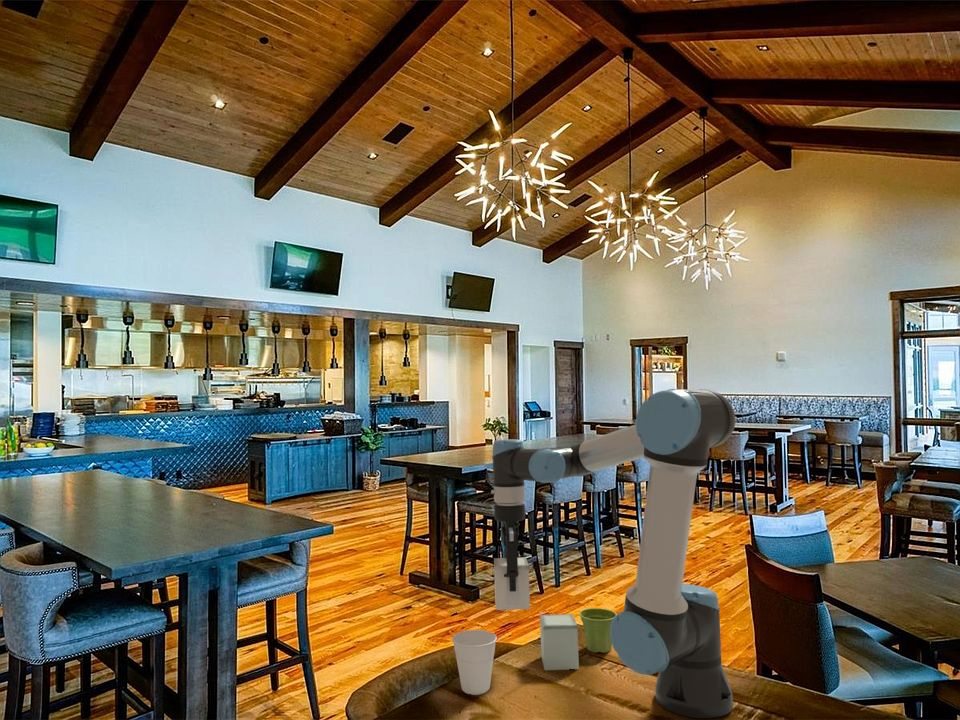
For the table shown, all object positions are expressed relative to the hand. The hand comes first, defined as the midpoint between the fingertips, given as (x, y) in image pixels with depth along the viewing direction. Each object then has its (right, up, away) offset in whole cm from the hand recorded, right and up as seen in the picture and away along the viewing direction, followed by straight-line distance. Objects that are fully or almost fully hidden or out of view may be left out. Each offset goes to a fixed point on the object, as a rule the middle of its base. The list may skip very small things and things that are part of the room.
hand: (512, 598), depth 152 cm
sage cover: (+11, -15, -1) cm, 19 cm away
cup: (-9, -15, -14) cm, 22 cm away
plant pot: (+22, -15, +7) cm, 28 cm away
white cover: (0, -1, 0) cm, 1 cm away
